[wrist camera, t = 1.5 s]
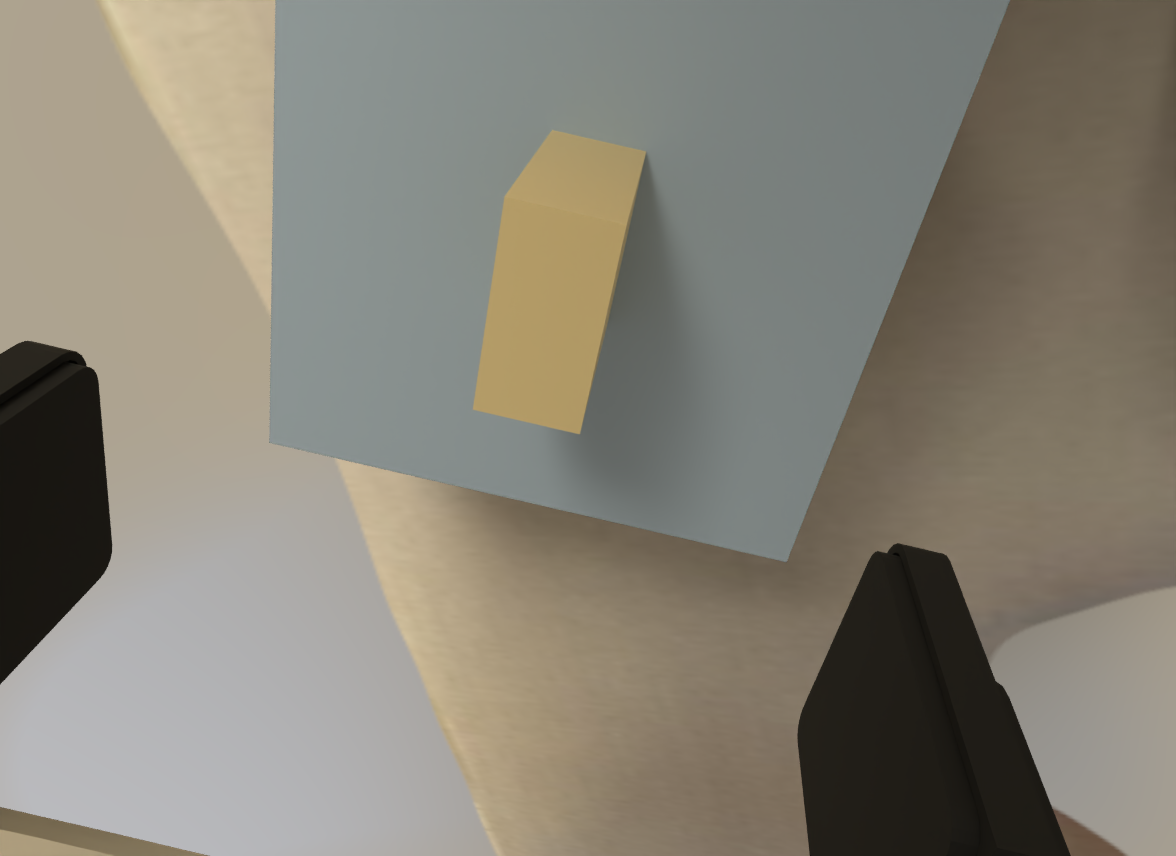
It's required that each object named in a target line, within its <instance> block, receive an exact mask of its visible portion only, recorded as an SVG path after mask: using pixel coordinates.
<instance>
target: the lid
mask: <svg viewBox="0 0 1176 856" xmlns="http://www.w3.org/2000/svg"><path fill="white" fill-rule="evenodd" d="M1009 2H1010V0H276V8H275V79H274V151H273V223H272V294H271V368H270V438H269V443H272V444H277V445H281V446H286V447H290V448H294V449H298V450H303V451H307V452H312V453H316V454H321V455H324V456H329V457H333V458H337V459H342V460H346V461H350V462H355V463H359V464H363V465H368V466H372V467H376V468H381V469H385V470H389V471H394V472H398V473H402V474H407V475H411V476H415V477H420V478H424V479H428V480H433V481H437V482H441V483H446V484H450V485H454V486H459V487H463V488H467V489H472V490H476V491H480V492H485V493H489V494H493V495H497V496H502V497H506V498H510V499H515V500H519V501H523V502H528V503H532V504H536V505H541V506H545V507H549V508H554V509H558V510H562V511H567V512H571V513H575V514H580V515H584V516H588V517H593V518H597V519H601V520H606V521H610V522H614V523H619V524H623V525H627V526H632V527H636V528H640V529H645V530H649V531H653V532H658V533H662V534H666V535H671V536H675V537H679V538H684V539H688V540H692V541H697V542H701V543H705V544H709V545H714V546H718V547H722V548H727V549H731V550H735V551H740V552H744V553H748V554H753V555H757V556H761V557H766V558H770V559H774V560H779V561H783V562H787V560H788V557H789V555H790V552H791V550H792V547H793V545H794V542H795V540H796V537H797V535H798V532H799V530H800V527H801V525H802V522H803V520H804V517H805V515H806V512H807V510H808V507H809V505H810V502H811V500H812V497H813V495H814V492H815V490H816V487H817V484H818V482H819V479H820V477H821V474H822V472H823V469H824V467H825V464H826V462H827V459H828V457H829V454H830V452H831V449H832V447H833V444H834V442H835V439H836V437H837V434H838V432H839V429H840V427H841V424H842V422H843V419H844V417H845V414H846V412H847V409H848V407H849V404H850V402H851V399H852V397H853V394H854V392H855V389H856V386H857V384H858V381H859V379H860V376H861V374H862V371H863V369H864V366H865V364H866V361H867V359H868V356H869V354H870V351H871V349H872V346H873V344H874V341H875V339H876V336H877V334H878V331H879V329H880V326H881V324H882V321H883V319H884V316H885V314H886V311H887V309H888V306H889V304H890V301H891V299H892V296H893V294H894V291H895V289H896V286H897V283H898V281H899V278H900V276H901V273H902V271H903V268H904V266H905V263H906V261H907V258H908V256H909V253H910V251H911V248H912V246H913V243H914V241H915V238H916V236H917V233H918V231H919V228H920V226H921V223H922V221H923V218H924V216H925V213H926V211H927V208H928V206H929V203H930V201H931V198H932V196H933V193H934V191H935V188H936V185H937V183H938V180H939V178H940V175H941V173H942V170H943V168H944V165H945V163H946V160H947V158H948V155H949V153H950V150H951V148H952V145H953V143H954V140H955V138H956V135H957V133H958V130H959V128H960V125H961V123H962V120H963V118H964V115H965V113H966V110H967V108H968V105H969V103H970V100H971V98H972V95H973V93H974V90H975V87H976V85H977V82H978V80H979V77H980V75H981V72H982V70H983V67H984V65H985V62H986V60H987V57H988V55H989V52H990V50H991V47H992V45H993V42H994V40H995V37H996V35H997V32H998V30H999V27H1000V25H1001V22H1002V20H1003V17H1004V15H1005V12H1006V10H1007V7H1008V5H1009Z"/></svg>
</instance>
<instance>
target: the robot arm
mask: <svg viewBox="0 0 1176 856" xmlns="http://www.w3.org/2000/svg"><path fill="white" fill-rule="evenodd" d="M111 554H112V538H111V526H110V514H109V502H108V490H107V478H106V466H105V455H104V444H103V431H102V419H101V407H100V395H99V383H98V378H97V374H96V373H95V371H94V370H93V369H92V368H90V367H87V366H86V362H85V360H84V358H83V357H82V355H80V354H79V353H77V352H75V351H71V350H66V349H62V348H58V347H54V346H49V345H45V344H41V343H37V342H32V341H24V342H21V343H18V344H16V345H15V346H13V347H11V348H10V349H8V350H6V351H5V352H3V353H1V354H0V684H1V683H2V682H3V681H4V680H5V679H6V678H7V677H8V675H9V674H10V673H11V672H12V671H13V670H14V669H15V668H16V667H17V666H18V665H19V664H20V663H21V662H22V661H23V660H24V659H25V657H26V656H27V655H28V654H29V653H30V652H31V651H32V650H33V649H34V648H35V647H36V646H37V644H39V642H40V641H41V640H42V639H43V638H44V637H45V636H46V635H47V634H48V633H49V632H50V631H51V630H52V629H53V628H54V627H55V626H56V625H57V623H58V622H59V621H60V620H61V619H62V618H63V617H64V616H65V615H66V614H67V613H68V612H69V611H70V610H71V609H72V607H73V606H74V605H75V604H76V603H77V602H78V601H79V600H80V599H81V598H82V597H83V596H84V595H85V594H86V593H87V592H88V591H89V589H90V588H91V587H92V586H93V585H94V584H95V583H96V582H97V581H98V580H99V579H100V578H101V576H102V575H103V574H104V572H105V570H106V569H107V567H108V564H109V562H110V559H111ZM798 749H799V758H800V767H801V777H802V786H803V795H804V805H805V814H806V823H807V833H808V842H809V851H810V856H1071V855H1070V853H1069V850H1068V848H1067V845H1066V842H1065V840H1064V837H1063V835H1062V832H1061V830H1060V827H1059V824H1058V822H1057V819H1056V817H1055V814H1054V812H1053V809H1052V806H1051V804H1050V802H1049V799H1048V796H1047V794H1046V791H1045V788H1044V786H1043V784H1042V781H1041V778H1040V776H1039V773H1038V771H1037V768H1036V765H1035V763H1034V760H1033V758H1032V755H1031V753H1030V750H1029V747H1028V745H1027V742H1026V740H1025V737H1024V735H1023V732H1022V729H1021V727H1020V724H1019V722H1018V719H1017V716H1016V714H1015V712H1014V709H1013V706H1012V704H1011V701H1010V699H1009V697H1008V695H1007V693H1006V691H1005V689H1004V688H1003V686H1001V685H1000V684H999V683H997V682H996V681H995V679H994V676H993V673H992V670H991V668H990V665H989V663H988V660H987V657H986V655H985V652H984V649H983V647H982V644H981V641H980V639H979V636H978V634H977V631H976V628H975V626H974V623H973V620H972V618H971V615H970V612H969V610H968V607H967V605H966V602H965V599H964V597H963V594H962V591H961V589H960V586H959V583H958V581H957V578H956V576H955V573H954V570H953V568H952V565H951V562H950V560H949V559H948V557H947V556H946V555H944V554H942V553H937V552H933V551H929V550H924V549H920V548H916V547H912V546H907V545H903V544H899V543H897V544H895V545H893V546H892V547H891V548H890V549H889V551H888V553H883V552H879V551H877V552H875V553H874V554H873V555H872V556H871V558H870V560H869V562H868V564H867V566H866V568H865V571H864V573H863V575H862V577H861V580H860V582H859V584H858V586H857V588H856V591H855V593H854V595H853V597H852V600H851V602H850V604H849V606H848V609H847V611H846V613H845V615H844V618H843V620H842V622H841V624H840V626H839V629H838V631H837V633H836V635H835V638H834V640H833V642H832V644H831V647H830V649H829V651H828V653H827V656H826V658H825V660H824V662H823V664H822V667H821V669H820V671H819V673H818V676H817V678H816V680H815V682H814V685H813V687H812V689H811V691H810V693H809V696H808V698H807V700H806V702H805V705H804V707H803V709H802V712H801V716H800V720H799V726H798ZM0 856H208V855H204V854H199V853H195V852H191V851H186V850H182V849H178V848H174V847H170V846H165V845H161V844H157V843H153V842H149V841H144V840H140V839H136V838H132V837H127V836H123V835H119V834H115V833H110V832H106V831H102V830H98V829H93V828H89V827H85V826H80V825H76V824H71V823H67V822H63V821H58V820H54V819H50V818H46V817H41V816H37V815H32V814H28V813H24V812H19V811H15V810H11V809H7V808H2V807H0Z"/></svg>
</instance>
